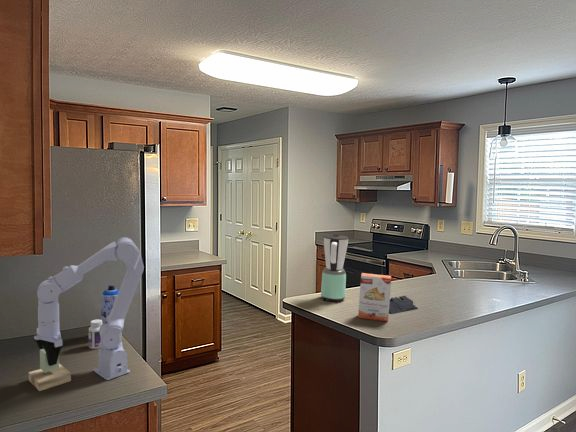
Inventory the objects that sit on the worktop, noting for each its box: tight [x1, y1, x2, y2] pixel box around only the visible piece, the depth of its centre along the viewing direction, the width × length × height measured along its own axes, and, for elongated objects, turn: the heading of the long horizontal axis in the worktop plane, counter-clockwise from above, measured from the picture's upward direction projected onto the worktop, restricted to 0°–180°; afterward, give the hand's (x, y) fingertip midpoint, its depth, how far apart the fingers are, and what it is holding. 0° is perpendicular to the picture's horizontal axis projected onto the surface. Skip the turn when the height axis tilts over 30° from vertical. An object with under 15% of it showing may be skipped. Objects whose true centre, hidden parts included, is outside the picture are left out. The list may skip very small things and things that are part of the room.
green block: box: [39, 349, 60, 373], centre depth 133 cm, size 4×4×6 cm
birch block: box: [28, 363, 72, 392], centre depth 133 cm, size 9×9×3 cm
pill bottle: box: [88, 318, 102, 350], centre depth 159 cm, size 5×5×10 cm
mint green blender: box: [320, 234, 350, 303], centre depth 229 cm, size 19×13×35 cm
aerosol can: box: [100, 285, 123, 335], centre depth 170 cm, size 8×8×20 cm
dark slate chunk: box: [389, 295, 419, 315], centre depth 222 cm, size 15×22×5 cm
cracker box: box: [357, 272, 392, 322], centre depth 203 cm, size 14×6×21 cm, turn 76°
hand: (49, 362), depth 133 cm, fingers closed on green block, 4 cm apart
